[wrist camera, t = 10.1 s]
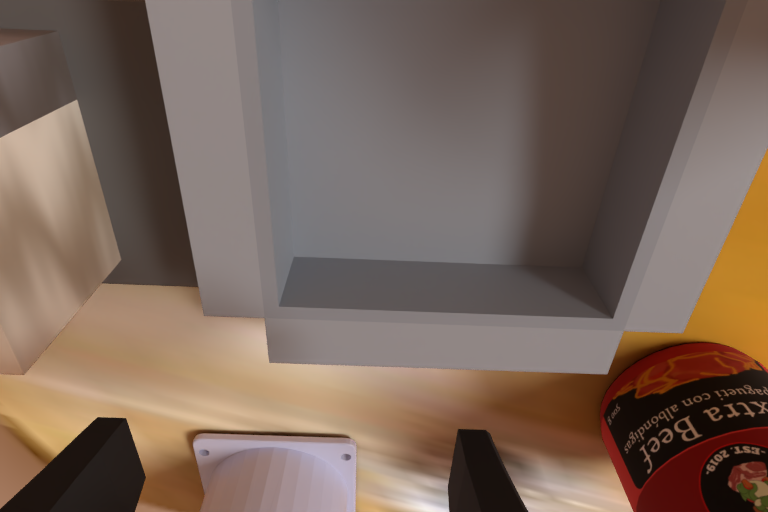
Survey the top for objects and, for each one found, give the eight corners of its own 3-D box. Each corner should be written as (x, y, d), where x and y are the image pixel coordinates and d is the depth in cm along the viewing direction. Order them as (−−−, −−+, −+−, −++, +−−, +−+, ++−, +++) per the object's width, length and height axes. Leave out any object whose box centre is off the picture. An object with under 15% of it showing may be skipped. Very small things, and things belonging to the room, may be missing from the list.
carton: (623, 315, 21) (663, 376, 18) (237, 300, 21) (212, 360, 18) (810, -192, 13) (942, -235, 10) (164, -226, 12) (92, -281, 9)
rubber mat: (209, 279, 20) (205, 286, 20) (-44, 270, 20) (-53, 277, 20) (161, 0, 15) (155, 2, 14) (-183, -15, 15) (-200, -14, 14)
